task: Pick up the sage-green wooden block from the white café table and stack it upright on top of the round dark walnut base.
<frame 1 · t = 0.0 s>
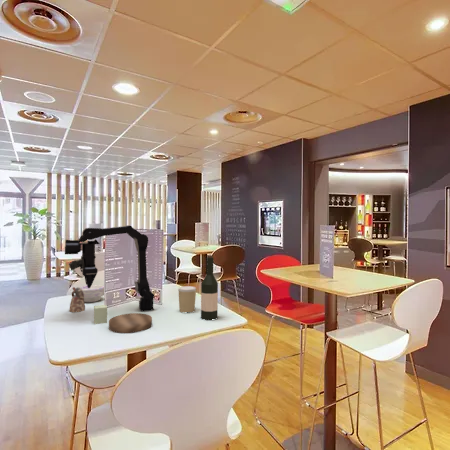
hand: (88, 286, 146), 15 cm above the table, tool pointing down, fingers open, 9 cm apart
sage block: (100, 321, 138), on the table
figurine: (77, 310, 156), on the table
coffee cup: (187, 311, 158), on the table
paper bowls: (90, 301, 177), on the table
wine bottle: (209, 318, 146), on the table
walnut base: (130, 325, 133), on the table
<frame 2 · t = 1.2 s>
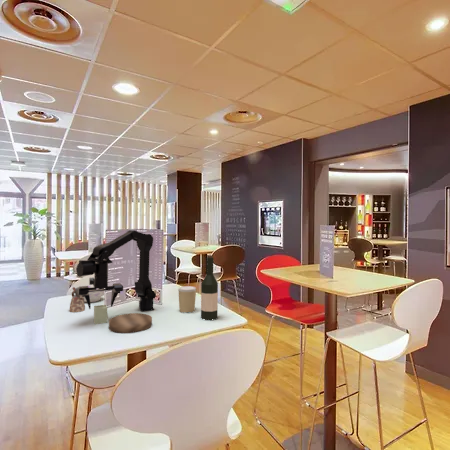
hand: (100, 307, 138), 6 cm above the table, tool pointing down, fingers open, 9 cm apart
nothing on the table moved.
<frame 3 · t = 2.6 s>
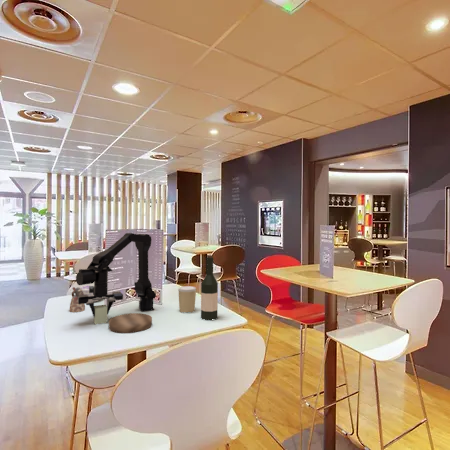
hand: (100, 316, 138), 3 cm above the table, tool pointing down, fingers closed on sage block, 5 cm apart
sage block: (100, 321, 138), on the table, touching gripper
everything else where it was.
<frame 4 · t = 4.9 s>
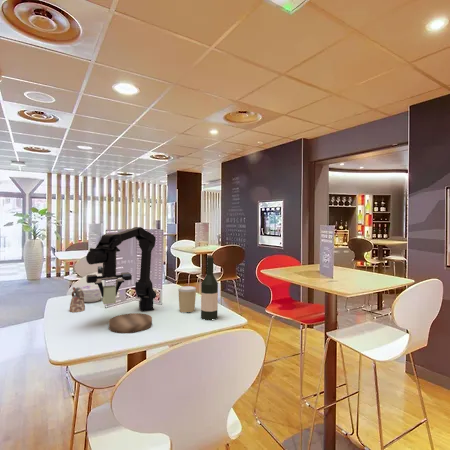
hand: (109, 296, 137), 12 cm above the table, tool pointing down, fingers closed on sage block, 5 cm apart
sage block: (109, 302, 137), point 9 cm above the table, touching gripper
everything else where it was.
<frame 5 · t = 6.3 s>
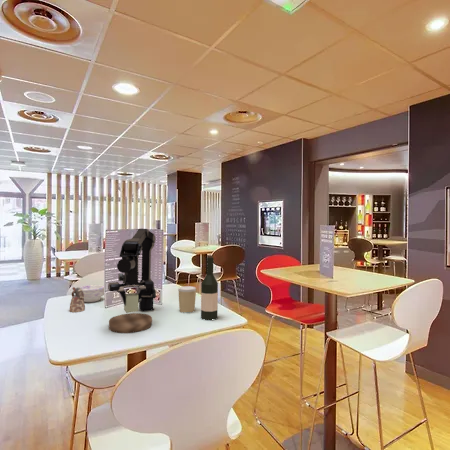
hand: (131, 304, 133), 9 cm above the table, tool pointing down, fingers closed on sage block, 5 cm apart
sage block: (131, 310, 133), point 7 cm above the table, touching gripper
everything else where it was.
when the fingers open (6 cm above the table, at t = 7.5 s): sage block stays where it is, resting on walnut base.
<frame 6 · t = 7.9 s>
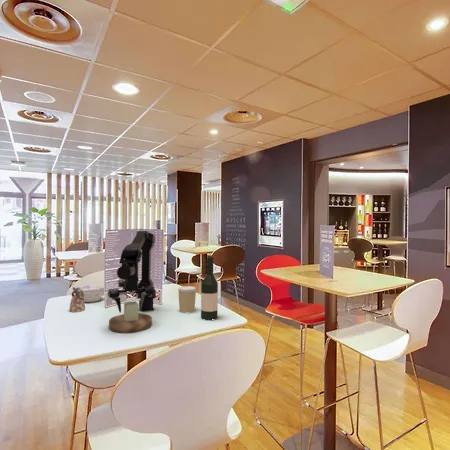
hand: (131, 311, 133), 6 cm above the table, tool pointing down, fingers open, 9 cm apart
sage block: (130, 319, 133), point 3 cm above the table, touching walnut base
everything else where it was.
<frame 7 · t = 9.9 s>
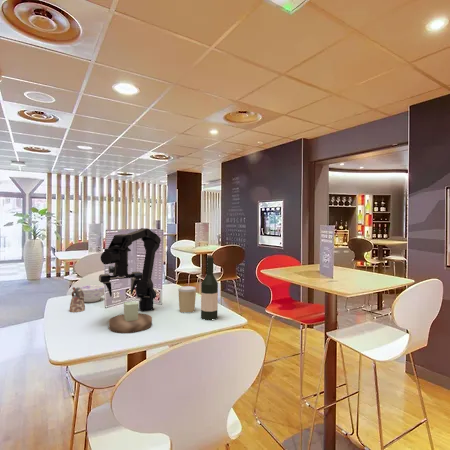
hand: (121, 295, 141), 12 cm above the table, tool pointing down, fingers open, 9 cm apart
nothing on the table moved.
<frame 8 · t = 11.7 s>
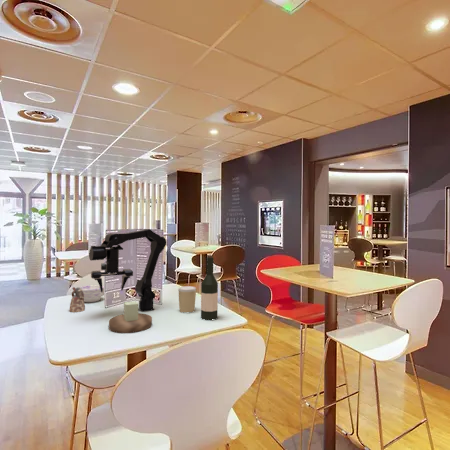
hand: (112, 291, 147), 12 cm above the table, tool pointing down, fingers open, 9 cm apart
nothing on the table moved.
at the end: sage block inside the target area on the walnut base (0.0 cm from its centre), point 3.0 cm above the walnut base's base; sage block tilted 0°; the gripper is holding nothing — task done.
